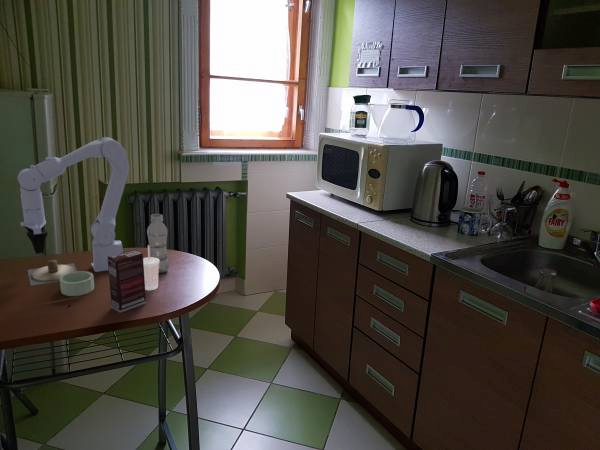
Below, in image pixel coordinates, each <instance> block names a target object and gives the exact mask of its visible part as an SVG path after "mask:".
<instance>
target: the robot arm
mask: <svg viewBox="0 0 600 450" xmlns="http://www.w3.org/2000/svg"><path fill="white" fill-rule="evenodd" d="M102 156H103V158H105V159H106V160H107V161H108V162H107V163H109V165H110V166H111V168H112V171H111V173H110V177H109V180H108V184H107V188H106V190H105V194H104V197H103V198H104V199H103V201H102V205H101V208H100V211H99V213H98V215H97V216H96V218H95V221H94V222H93V223H92V224H91V226H90V233H91V235H92V236H93V240H91V244H92V247H91V248H92V257H93V262H91V263H90V265H91V267H92V268H93V271H94V272H96V273H98V272H104V271H109V270H108V258H107V257H108V256H112V255H115V254H119V253H123V252H124V249H123V244H122V241H121V240H115V238H116V232H115V230H116V225H117V223H116V217H117V214H118V211H119V206H120V203H121V200H122V197H123V193H124V190H125V187H126V183H127V179H128V175H129V173H130V168H131V167H130V163H129V160H128V157H127V153H126V149H125V148H124V147H123V145H122V144H121V143H120V142H119V141H117V140H115V139H114V138H112V137H109V136H104V137H101V138H99V139H95V140H92V141H90V142H89V143H86V144H84V145H83V146H81V147H79V148H77V149H75V150H73V151H71V152H70V153H67V154H66V155H64V156H62V157H56V156H52V157H50V156H47V157H45V158H44V159H45V160H43V161H42V162H39V163H37V164H35V165H34V164H31V165H30V166H29V167H30V168H24V169H21V170H20V171H19V173H18V174H17V182H18V183H19V185H20V188H19V191H20V200H21V208H22V214H23V215H22V216H23V221H21V222H20V226H21V227H23V226H24V229H26V231H27V232H26V236H27V238H29V240H30V242H31V245H32V247H33V249H34V252H35V254H36V255H38V254H39V255H40V254H44V252H45V246H46V245H45V243H46V239H47V236H48V234H49V233H48V231H47V230H45V231H44V227H45V226H46V224H47V220H46V215H45V209H44V208H45V207H44V202H43V201H44V200H43V193H42V191H41V185H42V183H47V182H49V181H51V180H53V179H55V178H57V177H59V176H61V175H64V174H65V173H66V172H65V171H66V169H67V168H68V167H71V166H72V165H76V164H78V163H80V162H82V161H84V160H86V159H88V158H99V159H102Z"/></svg>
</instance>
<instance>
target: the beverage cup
mask: <svg viewBox="0 0 600 450" xmlns="http://www.w3.org/2000/svg"><path fill="white" fill-rule="evenodd" d="M159 261H160V260H159V259H158V258H155V257H150V246H149V244H147V257H143V264H144V278H145V291H153V290H156V289H158V288H159V273H158V270H159Z"/></svg>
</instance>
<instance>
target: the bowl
mask: <svg viewBox="0 0 600 450" xmlns="http://www.w3.org/2000/svg"><path fill="white" fill-rule="evenodd" d="M59 279H60V281H59V285H60V287H59V288H60V292H61V294H62V295H64V296H67V297H77V298H79V297H81V296H85V295H88V294H90V293H91V292H92V291H94V289H95V278H94V274H93V273H92V272H91V271H87V270H86V271H84V270H82V271H81V270H77V271H76V272H70V273H67V274H64V275H62V276H61V277H60V278H59Z"/></svg>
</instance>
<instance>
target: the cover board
mask: <svg viewBox="0 0 600 450" xmlns="http://www.w3.org/2000/svg"><path fill="white" fill-rule="evenodd" d="M46 263H47V265H46V266H42V267H40V268H39V269H37V268H36V269H37V270H35V271H34V272H33V273H32V276H33V278H34V279H35V280H39V281H55V280H60V279H59V278H60V277H61V276H62V275H64V274H67V273H70V272H74V269H73V267H71V266H68V265H65V264H58V260H57V259H50V260H47V261H46Z"/></svg>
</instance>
